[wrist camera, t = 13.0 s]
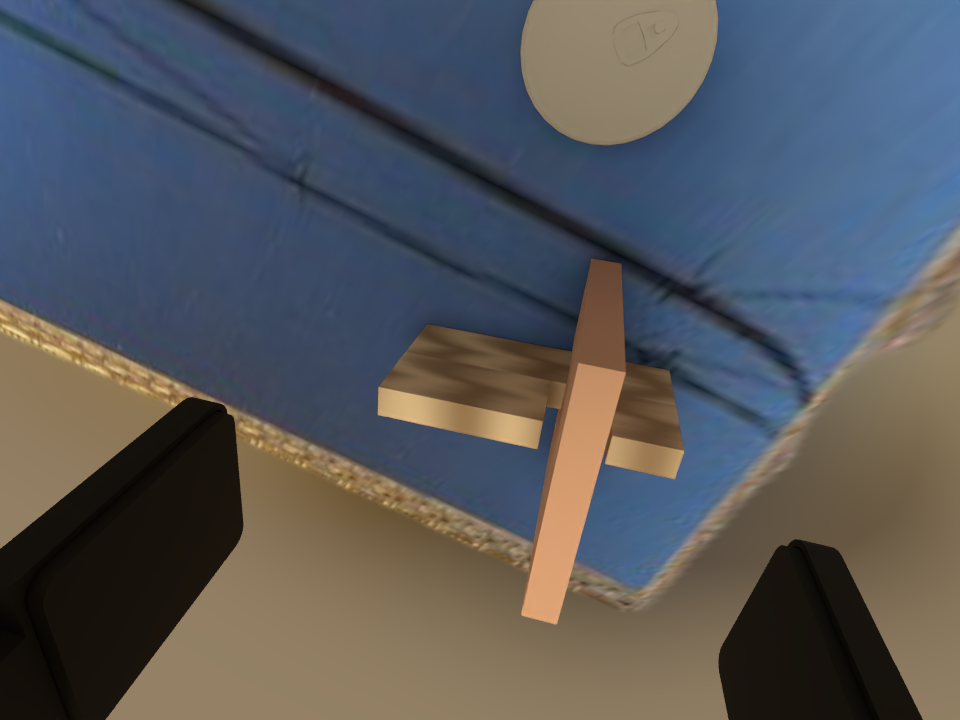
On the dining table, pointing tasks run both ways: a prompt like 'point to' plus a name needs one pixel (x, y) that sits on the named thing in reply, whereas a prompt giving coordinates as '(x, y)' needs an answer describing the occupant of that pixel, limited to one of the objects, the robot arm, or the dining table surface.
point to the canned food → (615, 63)
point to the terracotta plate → (578, 439)
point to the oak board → (525, 396)
